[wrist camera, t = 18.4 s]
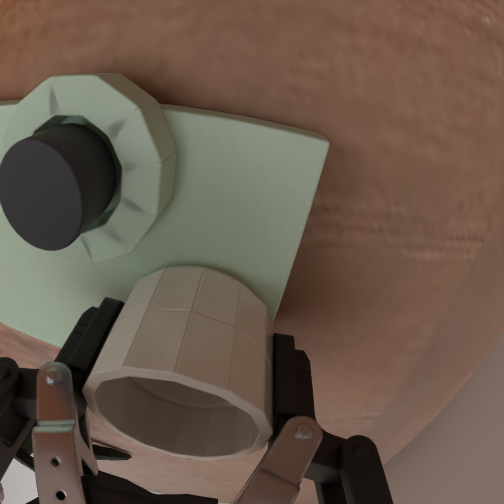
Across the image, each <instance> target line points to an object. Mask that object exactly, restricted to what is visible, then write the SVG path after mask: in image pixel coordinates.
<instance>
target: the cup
mask: <svg viewBox="0 0 504 504" xmlns="http://www.w3.org/2000/svg"><path fill="white" fill-rule="evenodd" d="M273 374H274V330H273V327H272V323H271V320H270V317H269V313H268V310H267V307H266V306H265V304H264V303H263V302H262V301H260V300H259V299H258V298H257V297H256V296H255V295H254V294H253V292H252V291H251V290H250V289H249V288H248V287H246V286H245V285H244V284H243V283H242V282H240V281H239V280H237V279H235V278H234V277H232V276H230V275H228V274H226V273H224V272H221V271H218V270H216V269H212V268H208V267H202V266H193V265H183V266H175V267H167V268H163V269H161V270H159V271H157V272H155V273H152V274H150V275H148V276H146V277H143V278H141V279H139V280H138V281H137V282H136V284H135V285H134V287H133V289H132V290H131V292H130V294H129V295H128V297H127V298H126V300H125V302H124V304H123V306H122V308H121V310H120V311H119V313H118V315H117V317H116V319H115V321H114V323H113V325H112V327H111V329H110V331H109V333H108V335H107V337H106V339H105V341H104V343H103V345H102V347H101V349H100V351H99V353H98V355H97V357H96V359H95V362H94V364H93V366H92V368H91V370H90V372H89V374H88V376H87V379H86V381H85V383H84V385H83V388H82V392H83V395H84V397H85V399H86V402H87V404H88V407H89V409H90V410H91V412H92V413H93V414H94V415H96V416H97V417H98V418H99V419H100V420H101V421H102V422H103V423H104V424H105V425H106V426H107V427H109V428H110V429H111V430H112V431H114V432H116V433H117V434H119V435H121V436H123V437H125V438H126V439H128V440H130V441H132V442H134V443H136V444H138V445H140V446H142V447H145V448H148V449H151V450H154V451H157V452H161V453H164V454H167V455H170V456H174V457H181V458H189V459H197V460H208V461H209V460H223V459H234V458H240V457H243V456H245V455H248V454H250V453H253V452H255V451H258V450H260V449H262V448H263V447H264V446H265V444H266V443H267V441H268V440H269V438H270V437H271V435H272V434H273V418H274V376H273Z"/></svg>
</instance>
